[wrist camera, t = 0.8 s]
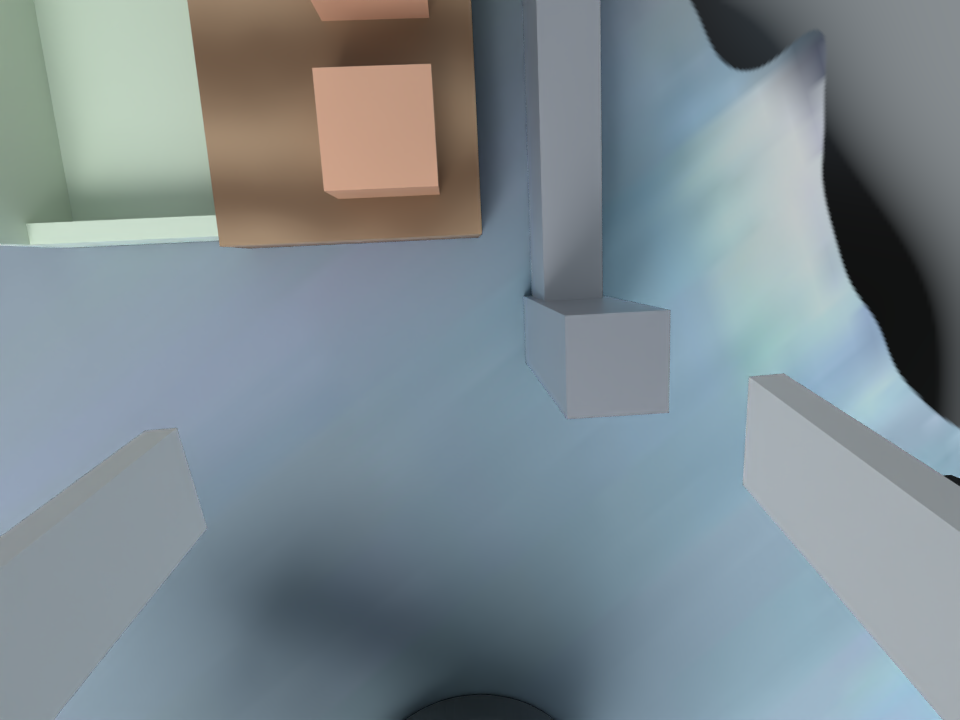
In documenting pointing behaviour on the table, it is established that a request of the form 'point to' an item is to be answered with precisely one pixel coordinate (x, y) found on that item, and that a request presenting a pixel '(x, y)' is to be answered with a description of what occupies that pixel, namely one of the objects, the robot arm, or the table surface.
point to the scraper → (578, 233)
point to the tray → (101, 125)
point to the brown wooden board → (294, 130)
